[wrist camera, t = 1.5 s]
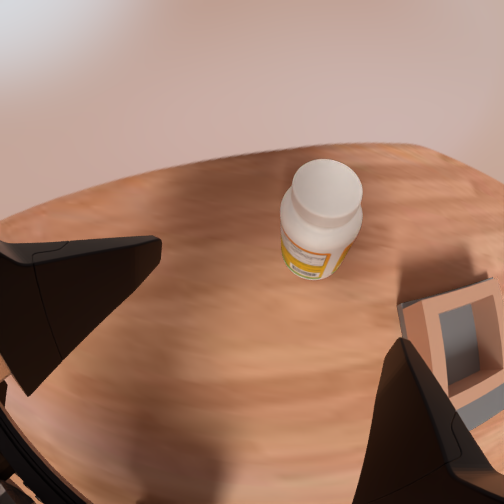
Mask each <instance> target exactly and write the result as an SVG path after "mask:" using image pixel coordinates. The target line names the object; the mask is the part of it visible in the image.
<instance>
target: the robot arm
mask: <svg viewBox="0 0 504 504" xmlns="http://www.w3.org/2000/svg"><path fill="white" fill-rule="evenodd" d="M161 250H162V241H161V239H159V238H157V237H155V236H152V235H150V236H133V237H117V238H102V239H88V240H75V241H70V242H69V241H61V242H44V243H6V242H3V241H0V504H36V503H35V502H34V501H33V499H32V498H31V497H29V496H28V495H26V494H25V493H24V492H23V491H22V489H21V488H20V487H19V486H18V485H17V484H15V483H14V482H13V481H12V480H11V479H10V477H11V476H12V475H13V474H14V473H15V474H16V475H17V476H19V477H20V478H21V479H22V480H23V481H24V482H23V484H24V485H25V486H26V487H27V488H28V489H30V490H31V491H33V493H34V494H35V495H36V496H35V497H36V498H37V499H38V500H39V501H40V502H42V503H43V504H93V503H92V502H91V501H90V500H88V499H87V498H86V497H85V496H84V495H82V494H81V493H80V492H79V491H78V490H77V489H75V488H74V487H73V486H72V485H71V484H70V483H69V482H68V481H67V480H66V479H65V478H63V477H62V476H61V475H60V474H59V473H58V472H57V471H56V470H55V469H54V468H53V467H52V466H51V465H50V464H49V462H48V461H47V460H46V459H45V458H44V457H43V456H42V455H41V454H40V453H39V452H38V450H37V449H36V448H35V447H34V446H33V445H32V443H31V442H30V441H29V440H28V439H27V437H26V436H25V435H24V434H23V432H22V431H21V430H20V428H19V427H18V426H17V424H16V423H15V422H14V420H13V419H12V418H11V416H10V415H9V413H8V412H7V411H6V409H5V400H6V392H7V383H6V382H5V380H4V379H6V378H7V377H8V376H10V375H12V376H13V378H14V379H15V381H16V382H17V383H18V385H19V386H20V388H21V389H22V390H23V392H24V393H25V394H26V395H27V397H29V396H30V395H31V394H32V393H33V392H34V391H35V390H36V389H37V388H38V387H39V386H40V384H41V383H42V382H43V381H44V380H45V379H46V378H47V377H48V376H49V375H50V374H51V373H52V372H53V371H54V369H55V368H56V367H57V366H58V365H59V364H60V363H61V362H62V360H64V359H65V358H66V357H67V356H68V355H69V354H70V353H71V352H72V351H73V350H74V349H75V348H76V347H77V346H78V345H79V344H80V343H81V342H82V341H83V340H84V339H85V338H86V337H87V336H88V335H89V334H90V333H91V332H92V331H93V330H94V329H95V328H96V327H97V326H98V325H99V324H100V323H101V322H102V321H103V320H104V319H105V318H106V317H107V316H108V315H109V314H111V313H112V312H113V311H114V310H115V309H116V308H117V307H118V306H119V305H120V304H121V303H122V302H123V301H124V300H125V299H126V298H128V297H129V296H130V295H131V294H132V293H133V292H134V291H135V290H136V289H137V288H138V287H139V286H140V285H141V283H142V282H143V281H144V280H145V279H146V278H147V277H148V276H149V274H150V273H151V272H152V271H153V270H154V269H155V268H156V267H157V266H158V264H159V263H160V260H161ZM352 504H504V475H502V474H500V473H498V472H497V471H496V470H495V469H494V468H493V467H492V466H491V464H490V463H489V461H488V460H487V458H486V457H485V455H484V453H483V452H482V450H481V449H480V447H479V446H478V444H477V443H476V441H475V440H474V438H473V437H472V435H471V433H470V432H469V430H468V429H467V427H466V425H465V424H464V422H463V421H462V419H461V417H460V416H459V414H458V412H457V411H456V409H455V407H454V406H453V404H452V402H451V401H450V399H449V398H448V396H447V394H446V393H445V391H444V390H443V388H442V387H441V385H440V384H439V382H438V381H437V379H436V377H435V376H434V374H433V373H432V371H431V370H430V369H429V367H428V366H427V364H426V363H425V361H424V360H423V358H422V357H421V355H420V354H419V353H418V351H417V350H416V348H415V347H414V345H413V344H412V343H411V341H410V340H408V339H405V338H402V337H400V338H398V339H397V340H396V342H395V343H394V344H393V346H392V347H391V349H390V350H389V352H388V353H387V355H386V356H385V359H384V363H383V368H382V373H381V377H380V382H379V386H378V390H377V394H376V399H375V405H374V412H373V418H372V424H371V429H370V435H369V440H368V445H367V449H366V454H365V458H364V462H363V466H362V470H361V474H360V478H359V482H358V485H357V489H356V492H355V495H354V499H353V502H352Z"/></svg>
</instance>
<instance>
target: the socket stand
mask: <svg viewBox="0 0 504 504" xmlns="http://www.w3.org/2000/svg"><path fill="white" fill-rule="evenodd" d="M397 309H398V315H399V320H400V326H401V331H402V338H405V339H408V340H410V341H411V343H412V344H413V345H414V347H415V348H416V350H417V351H418V353H419V354H420V355H421V357H422V358H423V360H424V361H425V363H426V364H427V366H428V367H429V369H430V370H431V371H432V373H433V374H434V376H435V377H436V379H437V381H438V382H439V384H440V385H441V387H442V388H443V390H444V391H445V393H446V394H447V396H448V398H449V399H450V401H451V402H452V404H453V406H454V407H455V409H456V411H457V412H458V414H459V416H460V417H461V419H462V421H463V422H464V424H465V425H466V427H467V429H468V430H469V431H470V430H472V429H474V428H476V427H477V426H479V425H481V424H482V423H484V422H485V421H487V420H488V419H490V418H492V417H493V416H495V415H496V414H498V413H499V412H500V411H502V410H503V409H504V302H503V297H502V293H501V288H500V284H499V280H498V277H497V278H494V279H493V277H492V278H489V279H486V280H483V281H480V282H477V283H474V284H470V285H467V286H464V287H460V288H457V289H454V290H450V291H447V292H443V293H440V294H436V295H432V296H429V297H425V298H421V299H417V300H413V301H409V302H405V303H401V304H399V305H397Z"/></svg>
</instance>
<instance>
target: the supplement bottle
mask: <svg viewBox="0 0 504 504" xmlns="http://www.w3.org/2000/svg"><path fill="white" fill-rule="evenodd" d="M362 195H363V190H362V185H361V182H360V180H359V178H358V176H357V175H356V174H355V172H354V171H353V170H352V169H351V168H349V167H348V166H346V165H345V164H343V163H341V162H338V161H335V160H330V159H317V160H313V161H310V162H307V163H306V164H304V165H303V166H301V167H300V168H299V169H298V170H297V172H296V173H295V175H294V177H293V181H292V186H291V187H290V188H289V189H288V190H287V191H286V193H285V195H284V196H283V199H282V202H281V207H280V223H281V250H282V256H283V260H284V262H285V264H286V266H287V267H288V268H289V269H290V270H291V271H292V272H293V273H294V274H296V275H297V276H299V277H301V278H304V279H308V280H319V279H323V278H326V277H328V276H330V275H331V274H333V273H334V272H335V271H336V270H337V269H338V268H339V266H340V265H341V263H342V261H343V259H344V258H345V256H346V254H347V252H348V251H349V249H350V247H351V245H352V244H353V242H354V240H355V239H356V237H357V235H358V233H359V230H360V228H361V225H362V218H363V214H362V208H361V204H360V203H361V200H362Z"/></svg>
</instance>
